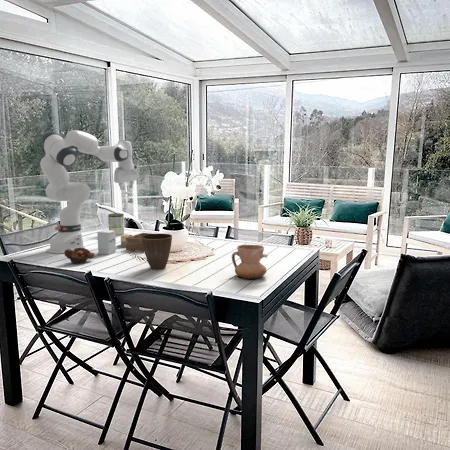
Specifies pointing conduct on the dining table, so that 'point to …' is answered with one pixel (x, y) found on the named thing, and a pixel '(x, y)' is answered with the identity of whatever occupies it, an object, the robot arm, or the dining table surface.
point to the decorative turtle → (78, 255)
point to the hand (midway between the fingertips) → (126, 188)
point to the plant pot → (157, 249)
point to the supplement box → (106, 242)
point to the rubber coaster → (121, 246)
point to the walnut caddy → (135, 242)
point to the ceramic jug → (249, 261)
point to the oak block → (124, 239)
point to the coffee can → (116, 223)
